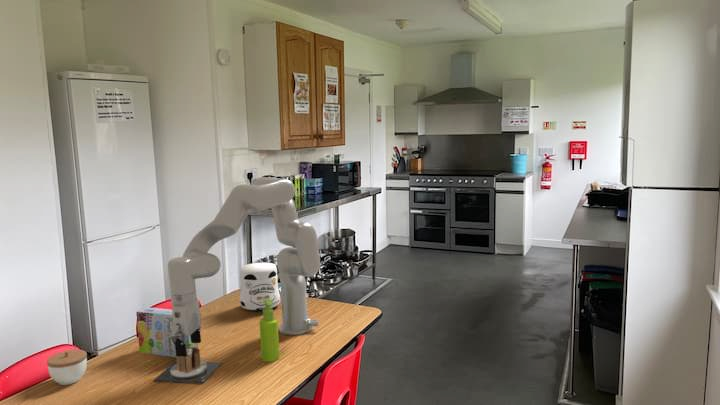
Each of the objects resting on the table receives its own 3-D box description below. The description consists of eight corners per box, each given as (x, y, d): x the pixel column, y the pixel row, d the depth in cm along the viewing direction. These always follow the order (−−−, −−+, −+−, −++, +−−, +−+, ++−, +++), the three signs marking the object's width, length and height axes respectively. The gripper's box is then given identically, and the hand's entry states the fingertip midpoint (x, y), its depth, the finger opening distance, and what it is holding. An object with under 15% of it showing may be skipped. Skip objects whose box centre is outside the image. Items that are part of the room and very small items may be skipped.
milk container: (261, 317, 212) (259, 274, 210) (231, 310, 222) (228, 269, 219) (289, 304, 227) (287, 264, 224) (260, 298, 236) (258, 260, 234)
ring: (204, 362, 167) (203, 347, 167) (194, 372, 161) (192, 357, 160) (184, 361, 169) (182, 347, 168) (172, 371, 162) (171, 356, 161)
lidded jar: (95, 371, 167) (92, 343, 166) (78, 388, 156) (74, 358, 155) (61, 373, 167) (58, 345, 165) (42, 389, 156) (38, 359, 155)
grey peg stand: (222, 363, 170) (220, 341, 169) (202, 383, 157) (201, 359, 156) (176, 361, 173) (174, 339, 172) (153, 381, 159) (151, 357, 158)
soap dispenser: (265, 364, 169) (262, 305, 166) (259, 356, 175) (256, 299, 172) (282, 360, 171) (279, 301, 168) (276, 352, 177) (273, 296, 175)
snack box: (199, 353, 179) (196, 311, 177) (189, 360, 174) (186, 316, 172) (149, 346, 186) (146, 306, 184) (138, 353, 181) (134, 311, 178)
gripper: (181, 307, 153) (187, 362, 155) (207, 288, 169) (212, 338, 172) (157, 306, 154) (163, 361, 156) (185, 288, 171) (190, 337, 173)
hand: (189, 349), depth 164 cm, fingers open, 9 cm apart
